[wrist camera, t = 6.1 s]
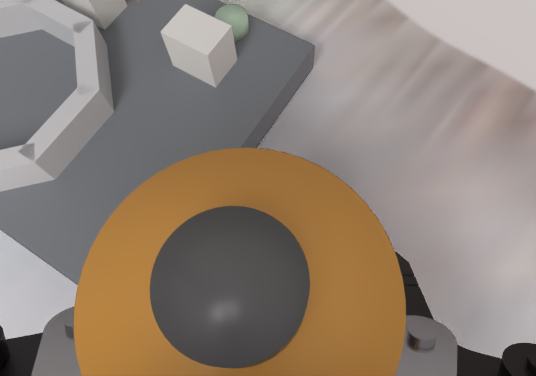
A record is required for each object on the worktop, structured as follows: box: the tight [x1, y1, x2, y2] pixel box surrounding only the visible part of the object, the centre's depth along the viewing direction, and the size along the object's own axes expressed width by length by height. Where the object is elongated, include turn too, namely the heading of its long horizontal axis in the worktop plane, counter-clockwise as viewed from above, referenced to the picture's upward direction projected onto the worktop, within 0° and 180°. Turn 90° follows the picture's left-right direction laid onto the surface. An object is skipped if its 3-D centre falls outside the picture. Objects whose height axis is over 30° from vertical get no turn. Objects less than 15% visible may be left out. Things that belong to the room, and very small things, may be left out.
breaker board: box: [0, 0, 315, 285], centre depth 19 cm, size 19×13×4 cm
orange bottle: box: [74, 148, 406, 376], centre depth 11 cm, size 5×5×11 cm
